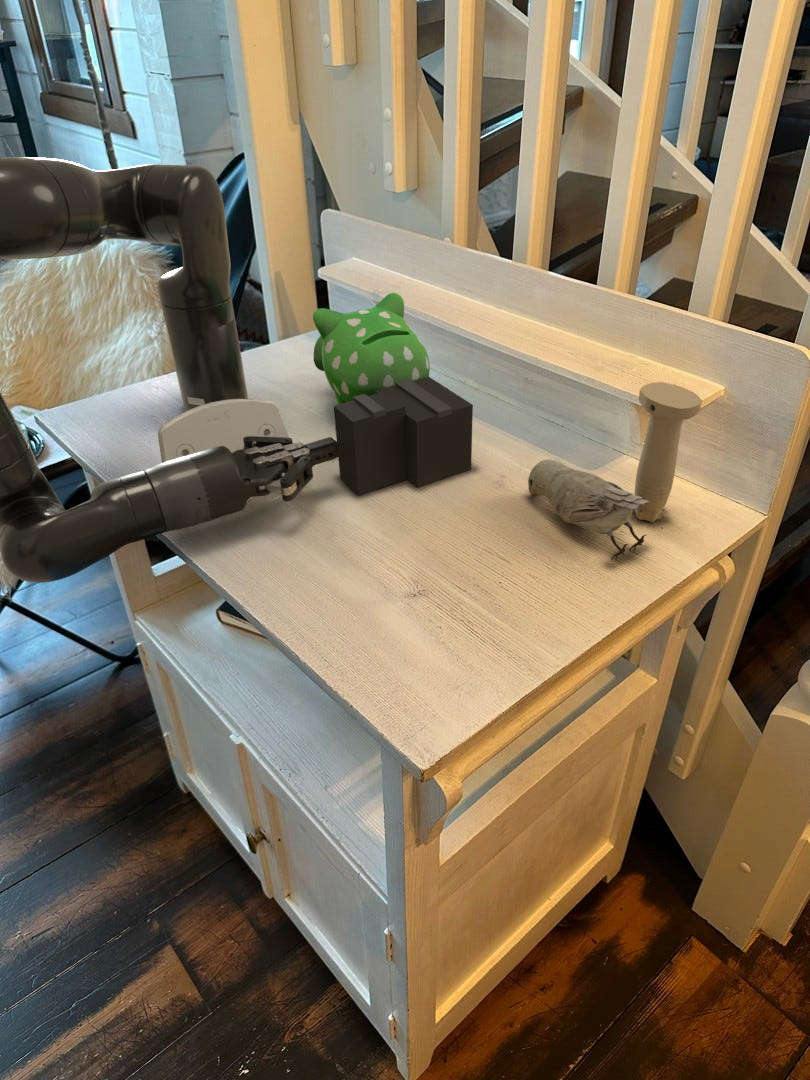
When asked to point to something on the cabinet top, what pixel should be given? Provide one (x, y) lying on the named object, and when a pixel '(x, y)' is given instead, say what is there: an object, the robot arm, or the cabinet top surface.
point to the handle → (661, 444)
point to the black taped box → (434, 429)
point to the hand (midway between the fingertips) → (336, 446)
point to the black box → (371, 442)
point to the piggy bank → (368, 349)
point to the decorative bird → (585, 499)
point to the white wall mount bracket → (219, 427)
